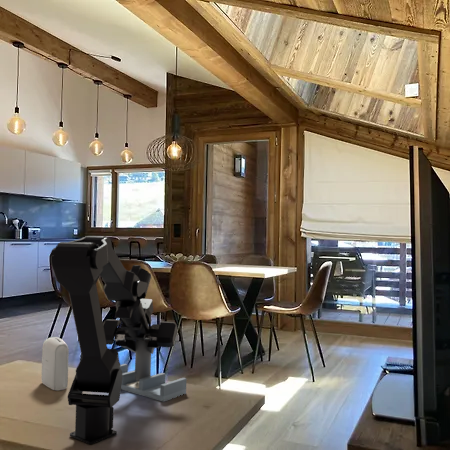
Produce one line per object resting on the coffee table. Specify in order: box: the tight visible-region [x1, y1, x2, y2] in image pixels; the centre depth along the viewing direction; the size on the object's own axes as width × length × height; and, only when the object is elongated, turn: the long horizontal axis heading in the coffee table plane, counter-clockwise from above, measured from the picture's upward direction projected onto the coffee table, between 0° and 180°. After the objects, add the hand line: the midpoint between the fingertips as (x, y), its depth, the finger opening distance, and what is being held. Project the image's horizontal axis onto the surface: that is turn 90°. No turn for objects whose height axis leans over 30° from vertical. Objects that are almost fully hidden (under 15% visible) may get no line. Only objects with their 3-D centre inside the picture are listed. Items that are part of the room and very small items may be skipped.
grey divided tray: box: [120, 363, 187, 402], centre depth 121 cm, size 8×23×4 cm, turn 53°
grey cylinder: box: [134, 339, 152, 381], centre depth 122 cm, size 4×4×13 cm
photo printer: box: [41, 336, 70, 391], centre depth 122 cm, size 10×4×12 cm, turn 39°
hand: (144, 351), depth 123 cm, fingers closed on grey cylinder, 4 cm apart
